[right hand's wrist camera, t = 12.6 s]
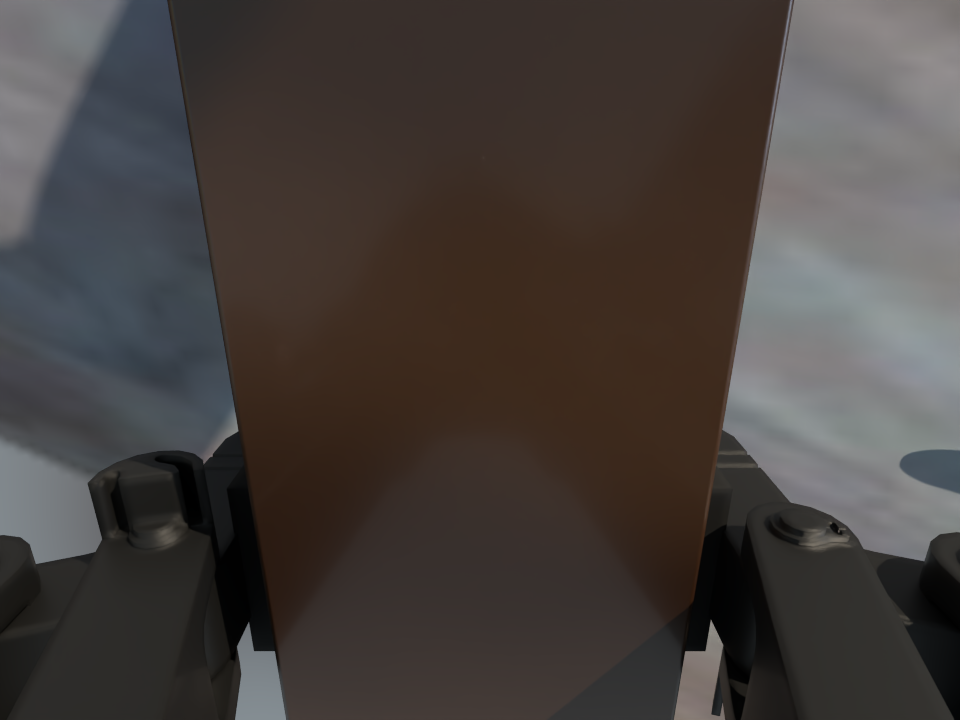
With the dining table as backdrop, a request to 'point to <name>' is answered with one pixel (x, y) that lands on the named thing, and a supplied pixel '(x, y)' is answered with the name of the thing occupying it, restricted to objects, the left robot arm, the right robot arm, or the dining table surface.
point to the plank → (480, 331)
